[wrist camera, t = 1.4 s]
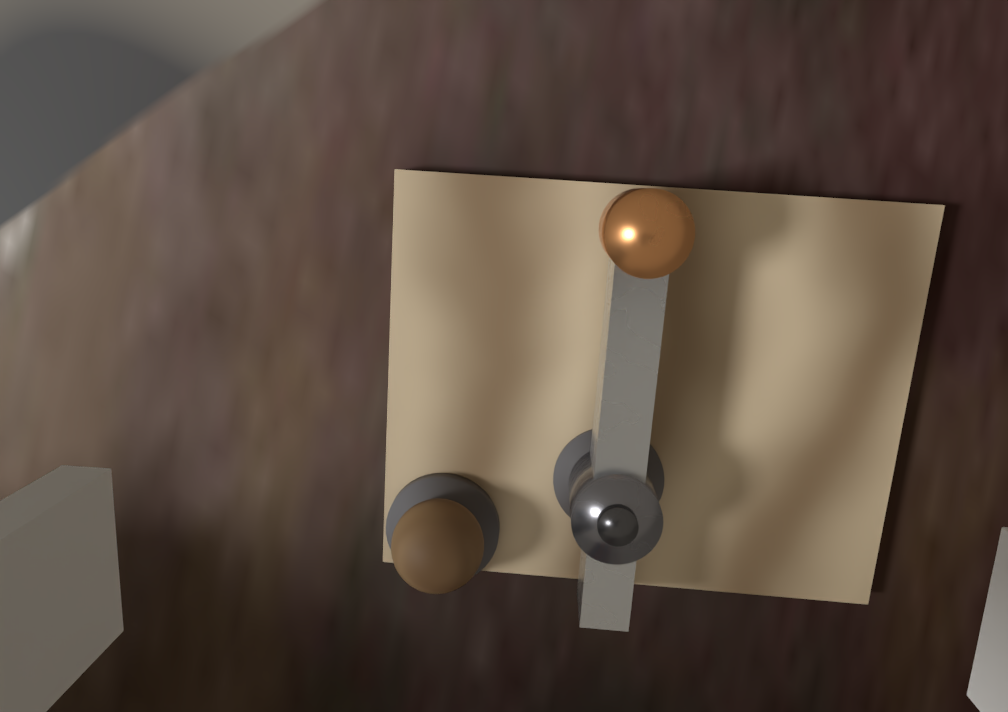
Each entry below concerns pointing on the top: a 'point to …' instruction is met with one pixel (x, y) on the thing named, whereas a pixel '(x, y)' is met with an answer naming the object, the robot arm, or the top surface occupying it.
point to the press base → (679, 391)
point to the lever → (625, 403)
